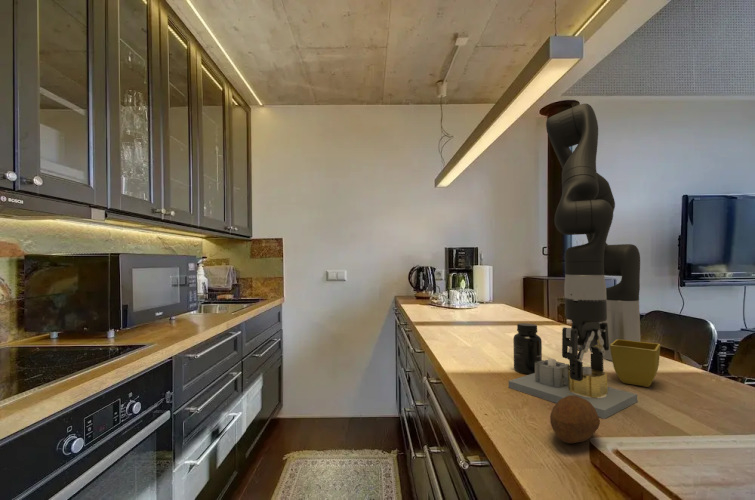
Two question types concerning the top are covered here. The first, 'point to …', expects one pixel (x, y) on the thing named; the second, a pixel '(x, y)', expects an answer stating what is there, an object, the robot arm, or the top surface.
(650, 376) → the flower pot
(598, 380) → the brass gear
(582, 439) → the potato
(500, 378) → the top surface
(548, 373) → the steel gear
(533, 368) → the supplement bottle
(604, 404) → the pegboard
